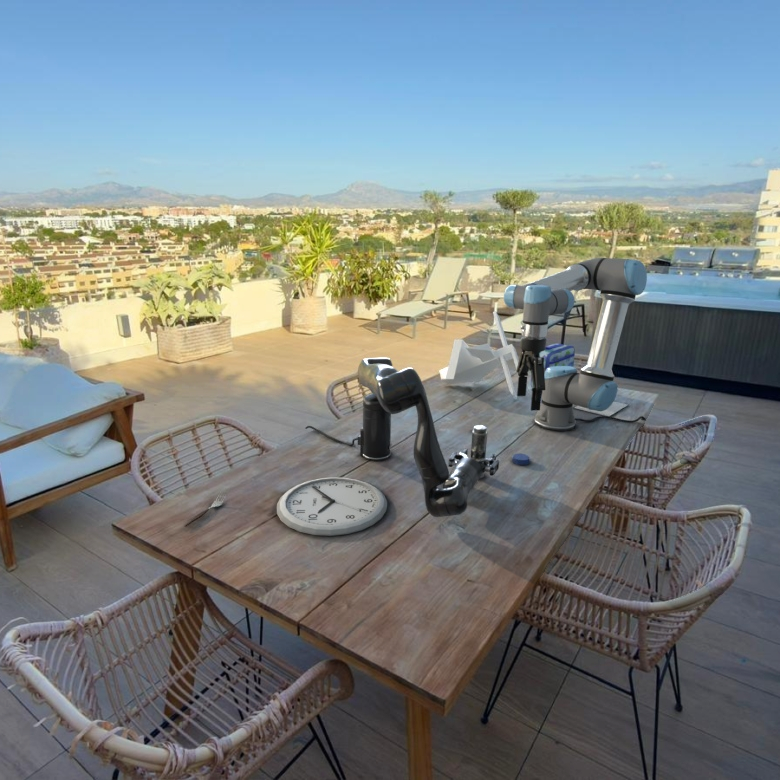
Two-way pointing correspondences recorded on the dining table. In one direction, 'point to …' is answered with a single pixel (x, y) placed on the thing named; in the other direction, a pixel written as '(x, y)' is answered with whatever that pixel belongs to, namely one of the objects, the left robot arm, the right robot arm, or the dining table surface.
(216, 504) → the fork
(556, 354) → the lunch box
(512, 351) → the white plastic object
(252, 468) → the dining table surface
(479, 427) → the jar
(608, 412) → the invitation card
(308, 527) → the wall clock
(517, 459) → the lid
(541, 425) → the right robot arm
